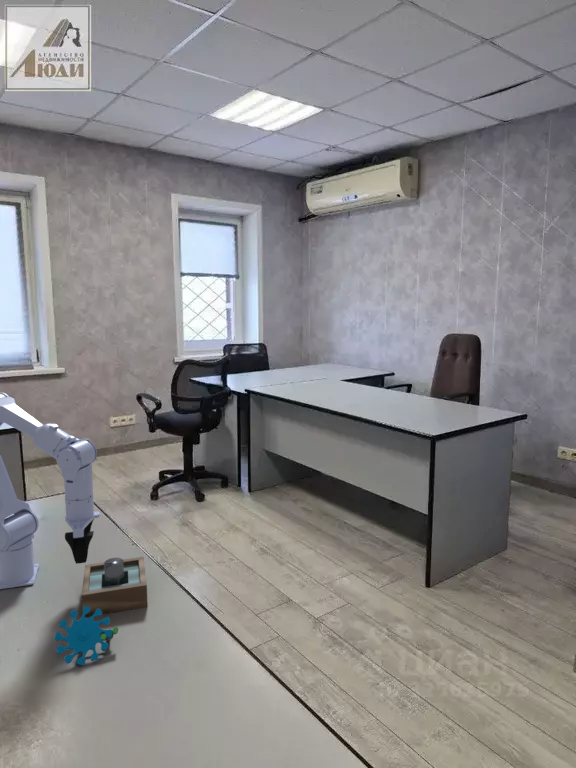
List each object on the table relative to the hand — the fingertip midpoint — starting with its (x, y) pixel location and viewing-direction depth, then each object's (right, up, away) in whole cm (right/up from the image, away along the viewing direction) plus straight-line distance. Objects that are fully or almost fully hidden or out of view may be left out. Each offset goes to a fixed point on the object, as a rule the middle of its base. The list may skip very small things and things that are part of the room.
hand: (82, 554), depth 115 cm
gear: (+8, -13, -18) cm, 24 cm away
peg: (+7, -8, 0) cm, 11 cm away
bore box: (+7, -9, 0) cm, 12 cm away
